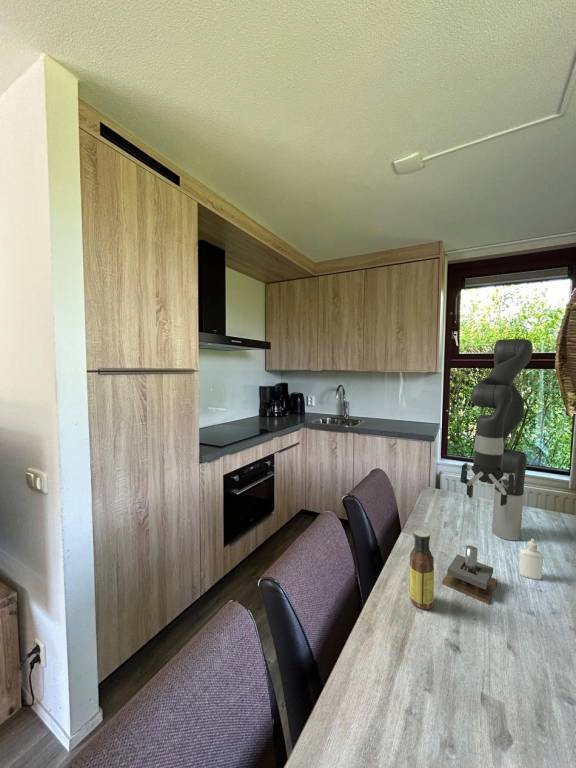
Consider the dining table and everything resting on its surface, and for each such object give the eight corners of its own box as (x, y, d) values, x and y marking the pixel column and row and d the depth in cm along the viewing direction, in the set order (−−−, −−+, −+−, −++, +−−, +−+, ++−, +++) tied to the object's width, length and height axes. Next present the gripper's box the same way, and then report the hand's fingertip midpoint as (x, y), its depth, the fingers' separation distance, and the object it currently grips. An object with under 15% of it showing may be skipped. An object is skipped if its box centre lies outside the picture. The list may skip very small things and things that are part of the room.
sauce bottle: (432, 597, 93) (435, 529, 91) (434, 613, 87) (438, 541, 85) (407, 591, 95) (410, 525, 93) (408, 607, 89) (411, 536, 87)
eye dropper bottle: (539, 583, 99) (542, 545, 98) (517, 574, 103) (519, 537, 102) (542, 577, 102) (545, 540, 101) (521, 568, 106) (523, 532, 105)
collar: (456, 559, 105) (457, 554, 105) (493, 572, 99) (493, 567, 99) (447, 573, 98) (447, 568, 98) (485, 589, 91) (485, 584, 91)
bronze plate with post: (454, 565, 107) (455, 533, 106) (496, 582, 99) (499, 547, 98) (442, 583, 98) (444, 548, 97) (488, 604, 90) (490, 566, 89)
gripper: (518, 451, 98) (515, 503, 99) (466, 443, 107) (464, 490, 109) (514, 457, 92) (511, 513, 94) (459, 448, 102) (457, 498, 103)
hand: (485, 501), depth 101 cm, fingers open, 8 cm apart
